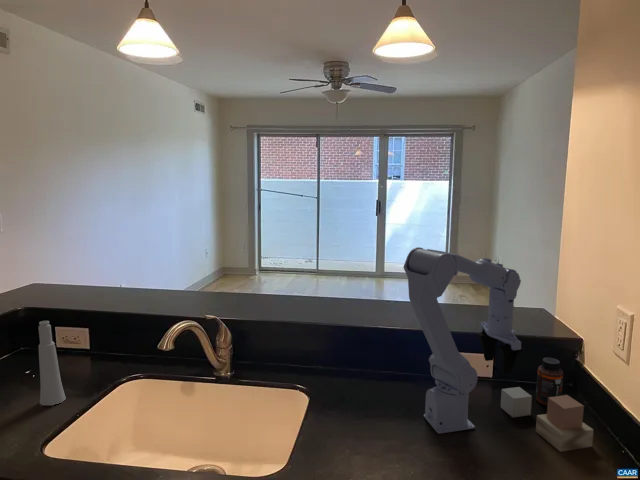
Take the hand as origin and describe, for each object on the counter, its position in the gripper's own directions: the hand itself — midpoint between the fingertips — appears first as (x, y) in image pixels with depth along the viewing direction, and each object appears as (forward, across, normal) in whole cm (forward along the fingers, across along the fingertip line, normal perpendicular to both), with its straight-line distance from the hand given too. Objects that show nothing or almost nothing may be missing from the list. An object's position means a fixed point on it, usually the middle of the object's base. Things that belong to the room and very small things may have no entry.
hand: (497, 366), depth 119 cm
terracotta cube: (+6, -17, -6) cm, 19 cm away
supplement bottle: (+11, -2, -14) cm, 18 cm away
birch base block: (+10, -17, -6) cm, 21 cm away
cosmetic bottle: (+11, +29, +112) cm, 116 cm away
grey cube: (+10, -4, -3) cm, 12 cm away
